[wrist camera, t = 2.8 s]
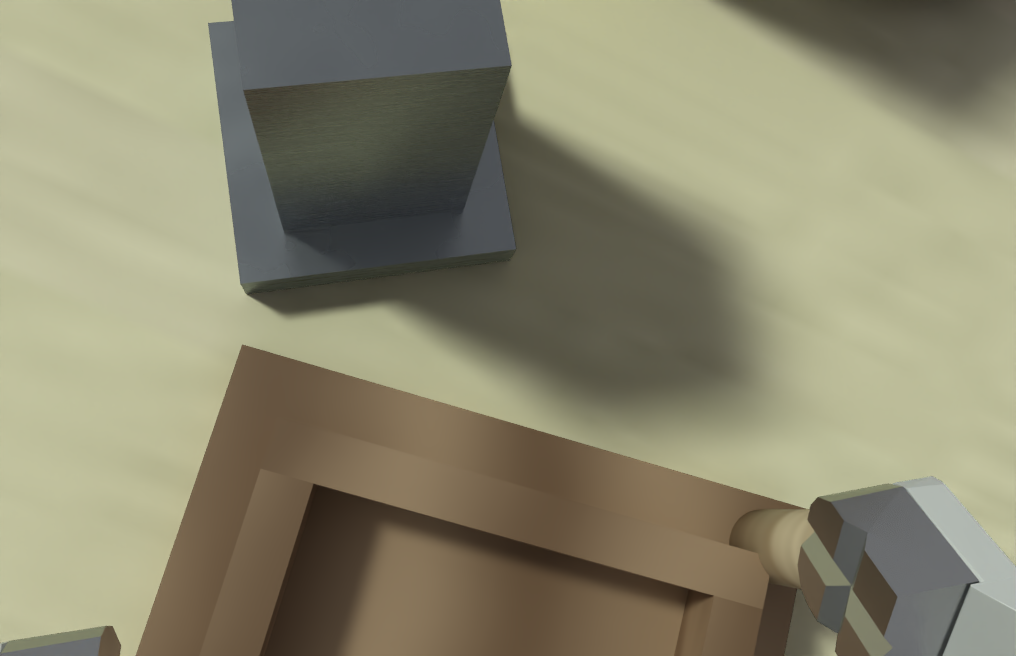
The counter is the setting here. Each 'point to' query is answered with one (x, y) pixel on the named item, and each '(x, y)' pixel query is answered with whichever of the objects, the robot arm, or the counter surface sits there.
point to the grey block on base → (362, 137)
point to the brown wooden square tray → (455, 537)
